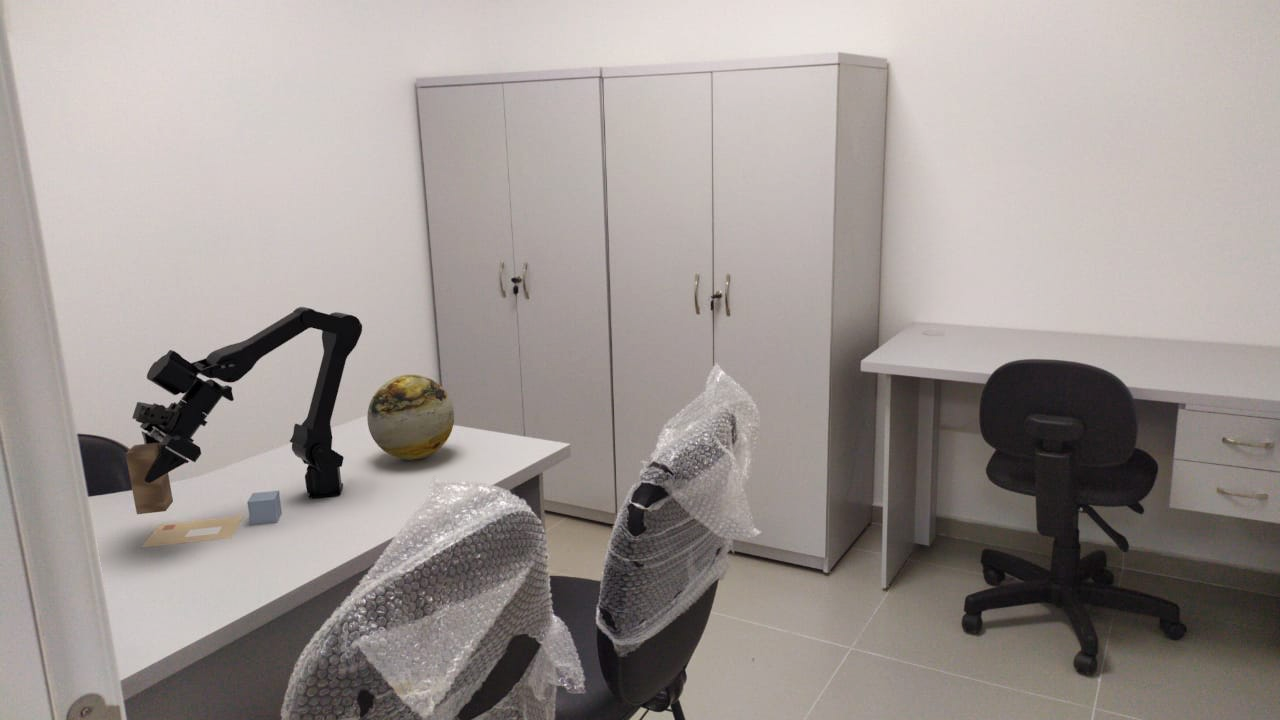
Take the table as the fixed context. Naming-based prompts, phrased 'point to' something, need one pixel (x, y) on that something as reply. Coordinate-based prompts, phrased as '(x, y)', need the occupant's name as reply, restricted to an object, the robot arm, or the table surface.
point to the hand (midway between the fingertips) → (141, 477)
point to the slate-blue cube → (264, 507)
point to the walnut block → (146, 494)
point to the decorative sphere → (410, 417)
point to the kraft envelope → (193, 531)
